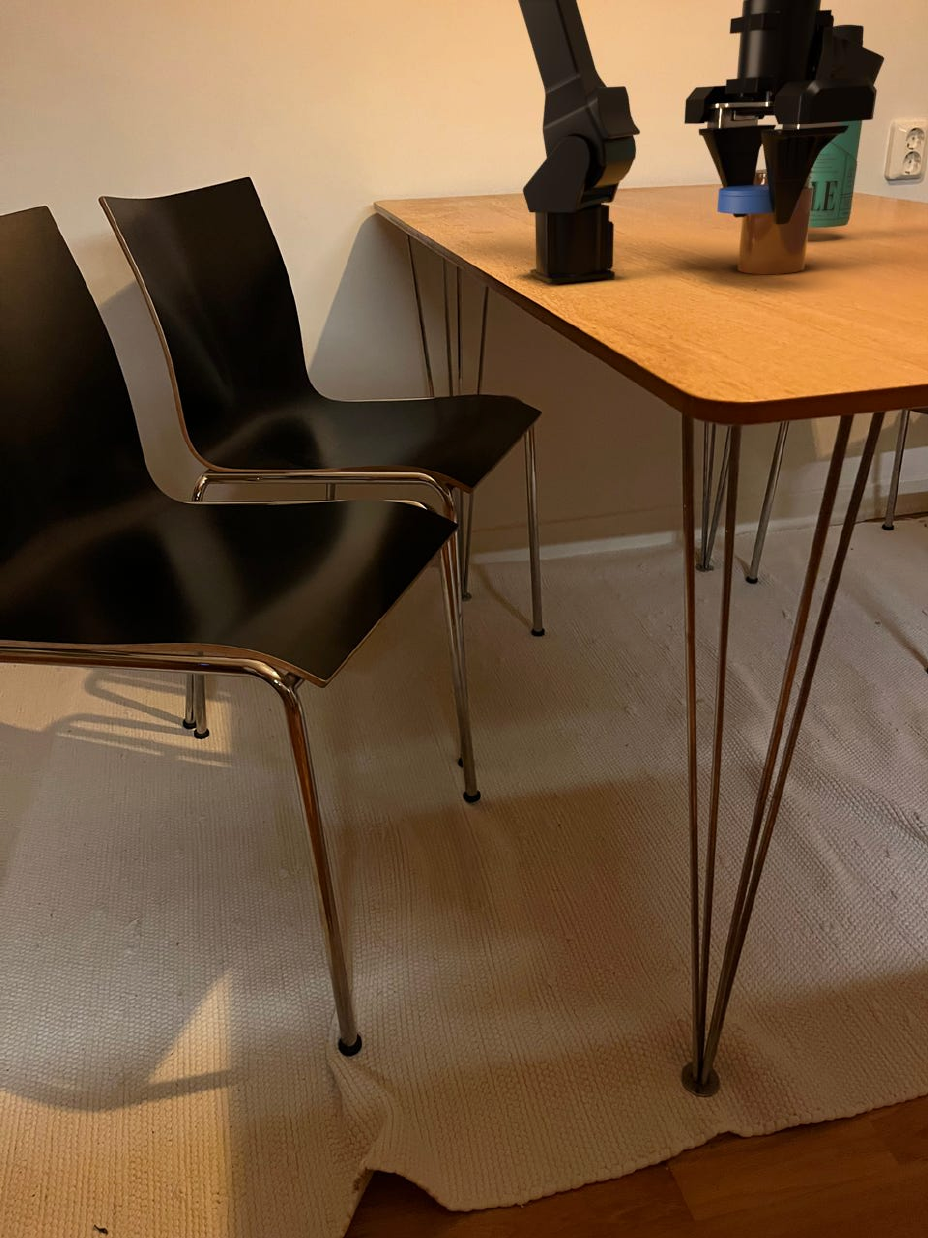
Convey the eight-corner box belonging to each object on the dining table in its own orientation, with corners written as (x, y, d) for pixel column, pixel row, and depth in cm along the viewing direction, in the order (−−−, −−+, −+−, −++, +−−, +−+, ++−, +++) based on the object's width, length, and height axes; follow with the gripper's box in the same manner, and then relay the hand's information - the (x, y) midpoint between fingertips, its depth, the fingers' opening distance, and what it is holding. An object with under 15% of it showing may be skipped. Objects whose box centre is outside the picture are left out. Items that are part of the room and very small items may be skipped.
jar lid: (702, 210, 79) (704, 188, 78) (769, 204, 81) (771, 182, 80) (742, 215, 74) (744, 192, 73) (813, 208, 75) (816, 185, 74)
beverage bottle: (840, 233, 104) (868, 24, 95) (855, 241, 99) (887, 19, 89) (780, 235, 105) (802, 29, 95) (792, 244, 99) (817, 24, 90)
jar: (758, 276, 84) (768, 174, 80) (725, 267, 89) (733, 171, 85) (817, 270, 85) (829, 169, 81) (781, 261, 90) (791, 166, 86)
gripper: (960, -22, 64) (917, 222, 71) (805, 6, 79) (784, 204, 87) (817, -16, 61) (789, 235, 69) (687, 11, 77) (676, 213, 85)
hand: (760, 220), depth 78 cm, fingers closed on jar lid, 6 cm apart
